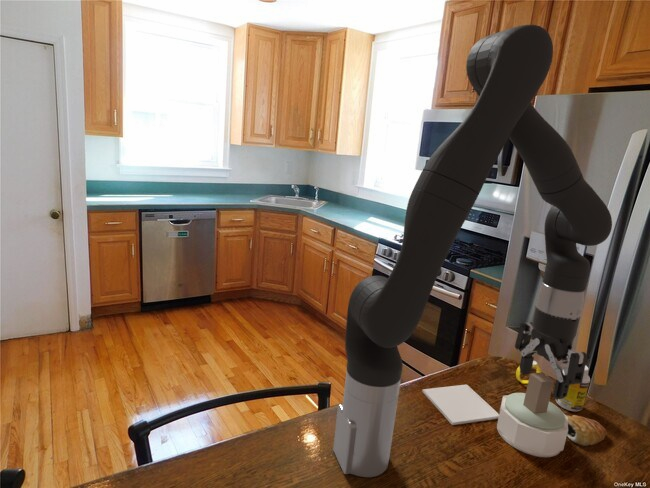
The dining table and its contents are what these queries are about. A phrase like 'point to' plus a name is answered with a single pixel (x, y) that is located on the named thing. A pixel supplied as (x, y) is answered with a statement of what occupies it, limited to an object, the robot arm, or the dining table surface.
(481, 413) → the mat
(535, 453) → the bowl
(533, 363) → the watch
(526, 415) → the lid
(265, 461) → the dining table surface
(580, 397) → the supplement bottle
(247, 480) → the dining table surface
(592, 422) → the pastry
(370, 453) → the robot arm
